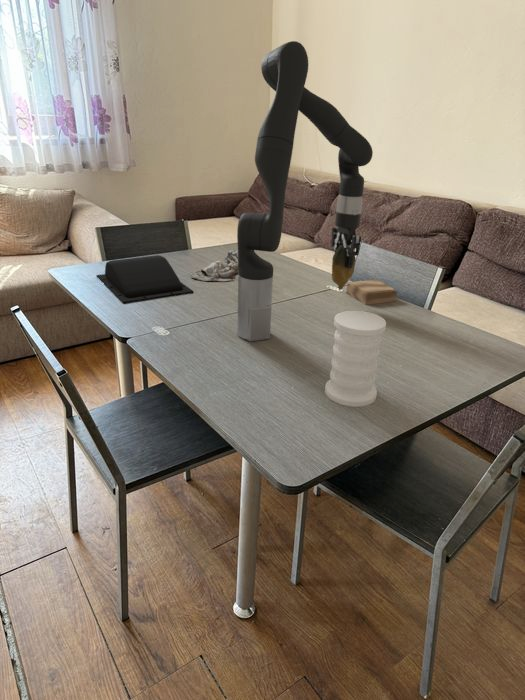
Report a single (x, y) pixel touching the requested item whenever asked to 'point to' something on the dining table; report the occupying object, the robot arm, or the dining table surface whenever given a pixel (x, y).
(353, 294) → the plinth
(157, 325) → the dining table surface
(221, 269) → the wall ornament
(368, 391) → the decorative container
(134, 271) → the black rounded block
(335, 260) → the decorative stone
